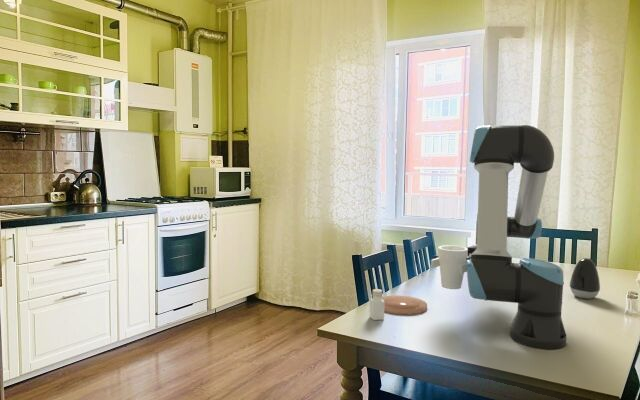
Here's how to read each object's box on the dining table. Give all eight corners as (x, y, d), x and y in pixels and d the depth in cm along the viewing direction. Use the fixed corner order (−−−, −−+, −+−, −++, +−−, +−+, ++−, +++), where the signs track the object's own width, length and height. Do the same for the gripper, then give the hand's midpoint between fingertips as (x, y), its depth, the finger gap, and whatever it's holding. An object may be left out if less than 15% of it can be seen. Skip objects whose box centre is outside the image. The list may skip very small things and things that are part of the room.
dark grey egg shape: (602, 296, 181) (604, 258, 179) (595, 302, 173) (598, 262, 172) (573, 291, 188) (575, 254, 186) (565, 296, 180) (568, 258, 179)
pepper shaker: (373, 321, 151) (374, 292, 150) (368, 316, 155) (369, 289, 154) (384, 320, 152) (385, 291, 151) (380, 315, 156) (380, 288, 155)
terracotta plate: (432, 315, 157) (432, 311, 157) (378, 314, 158) (378, 310, 158) (421, 299, 175) (421, 295, 175) (373, 298, 176) (373, 294, 175)
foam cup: (467, 291, 149) (468, 251, 148) (437, 289, 151) (438, 250, 150) (464, 283, 158) (466, 246, 157) (436, 281, 160) (437, 244, 159)
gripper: (505, 271, 160) (478, 284, 144) (446, 261, 175) (415, 272, 158) (506, 250, 160) (479, 260, 143) (446, 241, 174) (416, 250, 158)
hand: (445, 266), depth 151 cm, fingers closed on foam cup, 9 cm apart
